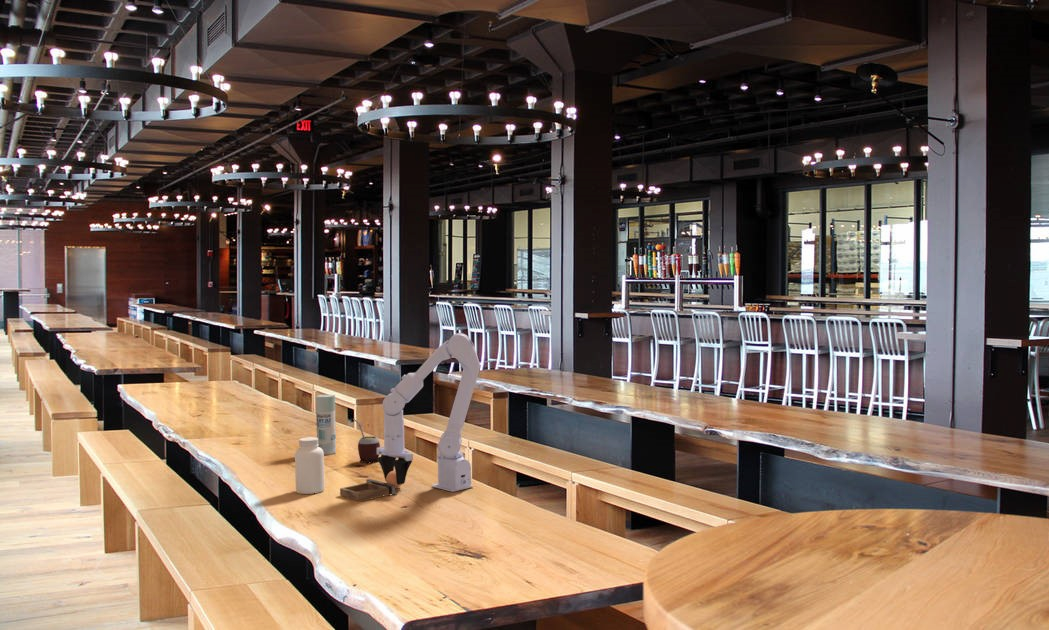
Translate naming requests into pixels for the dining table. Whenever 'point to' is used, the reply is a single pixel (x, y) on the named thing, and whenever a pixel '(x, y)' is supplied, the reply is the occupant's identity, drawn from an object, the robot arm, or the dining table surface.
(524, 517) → the dining table surface
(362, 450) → the mate gourd
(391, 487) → the rail
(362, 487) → the tray
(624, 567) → the dining table surface
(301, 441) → the pill bottle
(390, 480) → the ball
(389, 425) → the robot arm
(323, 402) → the spray paint can
